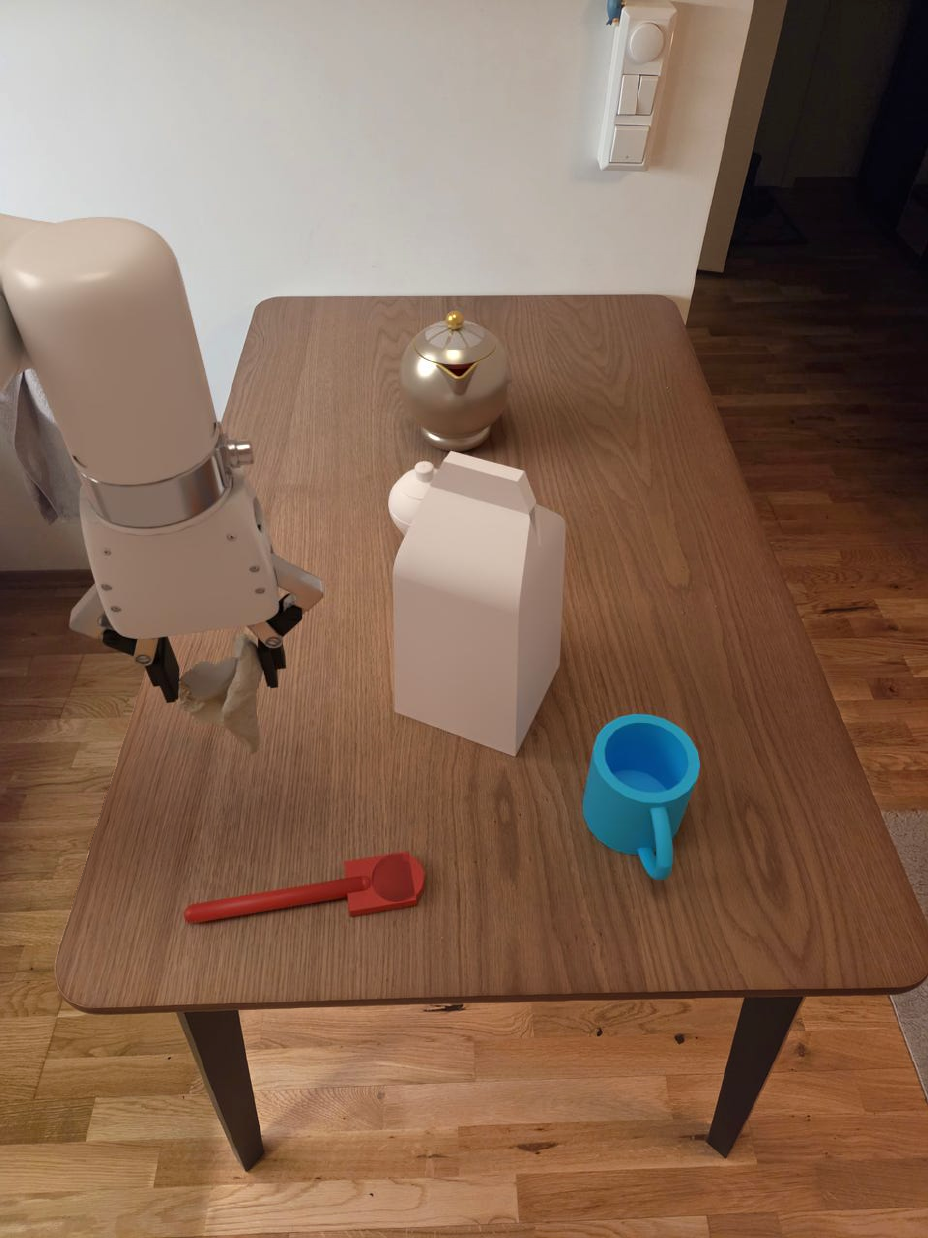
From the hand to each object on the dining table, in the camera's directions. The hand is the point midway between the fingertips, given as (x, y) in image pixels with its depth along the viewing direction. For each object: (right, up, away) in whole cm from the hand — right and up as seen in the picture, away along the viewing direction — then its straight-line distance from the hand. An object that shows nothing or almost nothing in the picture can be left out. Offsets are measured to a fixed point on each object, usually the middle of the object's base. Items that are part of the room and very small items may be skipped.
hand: (223, 677), depth 59 cm
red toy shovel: (+4, -18, +8) cm, 20 cm away
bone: (0, -3, +3) cm, 4 cm away
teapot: (+15, +29, +51) cm, 60 cm away
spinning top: (+13, +11, +35) cm, 38 cm away
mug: (+31, -14, +12) cm, 36 cm away
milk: (+18, -3, +22) cm, 29 cm away
